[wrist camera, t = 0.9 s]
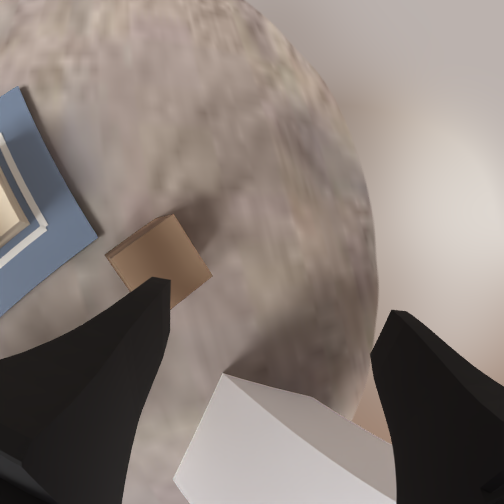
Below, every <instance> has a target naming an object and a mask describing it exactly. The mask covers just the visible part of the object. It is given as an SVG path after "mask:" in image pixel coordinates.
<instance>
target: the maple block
mask: <svg viewBox="0 0 504 504" xmlns="http://www.w3.org/2000/svg"><path fill="white" fill-rule="evenodd" d="M28 225H30V223H29V221H28V219H27V217H26V216H25V214H24V212H23V210H22V208H21V207H20V205H19V203H18V201H17V199H16V197H15V195H14V193H13V191H12V189H11V187H10V185H9V183H8V181H7V179H6V177H5V175H4V173H3V171H2V169H1V167H0V248H2V247H3V246H4V245H5V244H6V243H7V242H9V241H10V240H11V239H12V238H13V237H15V236H16V235H17V234H18V233H20V232H21V231H22V230H23V229H25V228H26V227H27V226H28Z"/></svg>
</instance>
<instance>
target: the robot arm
mask: <svg viewBox="0 0 504 504" xmlns="http://www.w3.org/2000/svg"><path fill="white" fill-rule="evenodd" d="M170 296H171V280H169V279H163V278H158V277H151V278H149V279H148V280H147V281H145V282H144V283H142V284H141V285H140V286H138V287H137V288H136V289H134V290H133V291H132V292H130V293H129V294H128V295H126V296H125V297H123V298H122V299H121V300H119V301H118V302H116V303H115V304H114V305H112V306H111V307H109V308H108V309H106V310H105V311H103V312H102V313H100V314H99V315H97V316H95V317H94V318H92V319H91V320H89V321H88V322H86V323H84V324H83V325H81V326H79V327H77V328H76V329H74V330H72V331H70V332H68V333H66V334H64V335H62V336H60V337H58V338H56V339H54V340H52V341H50V342H47V343H45V344H42V345H40V346H38V347H35V348H33V349H30V350H28V351H25V352H23V353H20V354H17V355H14V356H11V357H8V358H4V359H1V360H0V504H122V497H123V491H124V485H125V479H126V474H127V469H128V464H129V459H130V454H131V449H132V445H133V441H134V437H135V433H136V429H137V425H138V421H139V418H140V415H141V412H142V409H143V407H144V404H145V402H146V399H147V396H148V394H149V391H150V389H151V386H152V384H153V381H154V379H155V376H156V374H157V371H158V369H159V366H160V364H161V361H162V359H163V355H164V352H165V348H166V344H167V340H168V337H169V333H170ZM370 357H371V364H372V370H373V376H374V380H375V384H376V388H377V391H378V394H379V398H380V401H381V404H382V408H383V411H384V414H385V417H386V421H387V424H388V428H389V432H390V436H391V441H392V446H393V454H394V462H395V473H396V504H504V386H502V385H500V384H499V383H497V382H496V381H494V380H493V379H491V378H490V377H488V376H487V375H485V374H484V373H482V372H481V371H480V370H478V369H477V368H476V367H474V366H473V365H472V364H470V363H469V362H468V361H467V360H465V359H464V358H463V357H462V356H460V355H459V354H458V353H457V352H456V351H454V350H453V349H452V348H451V347H450V346H448V345H447V344H446V343H445V342H444V341H443V340H442V339H440V338H439V337H438V336H437V335H436V334H435V333H433V332H432V331H431V330H430V329H429V328H428V327H426V326H425V325H424V324H423V323H421V322H420V321H419V320H418V319H416V318H415V317H414V316H412V315H411V314H409V313H408V312H406V311H398V310H391V312H390V314H389V316H388V318H387V321H386V323H385V325H384V327H383V329H382V332H381V333H380V336H379V338H378V340H377V342H376V344H375V346H374V348H373V350H372V352H371V354H370Z"/></svg>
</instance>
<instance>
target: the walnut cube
mask: <svg viewBox="0 0 504 504" xmlns="http://www.w3.org/2000/svg"><path fill="white" fill-rule="evenodd" d="M105 256H106V257H107V259H108V260H109V262H110V263H111V265H112V266H113V268H114V269H115V271H116V272H117V274H118V275H119V276H120V278H121V279H122V281H123V282H124V284H125V285H126V286H127V288H128V289H129V291H130V292H132V291H133V290H134V289H136V288H137V287H138V286H140V285H141V284H142V283H144V282H145V281H147V280H148V279H149V278H151V277H158V278H163V279H169V280H171V296H170V310H171V309H172V308H173V307H174V306H176V305H177V304H178V303H179V302H181V301H182V300H183V299H184V298H186V297H187V296H188V295H189V294H191V293H192V292H193V291H194V290H196V289H197V288H198V287H199V286H201V285H202V284H203V283H204V282H206V281H207V280H208V279H209V278H211V277H212V276H213V275H212V274H211V272H210V271H209V269H208V268H207V266H206V265H205V263H204V261H203V260H202V258H201V257H200V255H199V254H198V252H197V250H196V249H195V247H194V246H193V244H192V243H191V241H190V239H189V238H188V236H187V235H186V233H185V231H184V230H183V228H182V227H181V225H180V223H179V222H178V220H177V218H176V217H175V215H174V214H172V215H168V216H163V217H159V218H156V219H154V220H153V221H151V222H150V223H148V224H147V225H145V226H144V227H143V228H141V229H140V230H138V231H137V232H135V233H134V234H133V235H131V236H130V237H128V238H127V239H126V240H124V241H123V242H121V243H120V244H119V245H117V246H116V247H115V248H113V249H112V250H111V251H109V252H108V253H106V254H105Z"/></svg>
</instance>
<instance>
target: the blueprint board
mask: <svg viewBox="0 0 504 504" xmlns="http://www.w3.org/2000/svg"><path fill="white" fill-rule="evenodd" d="M0 167H1V169H2V171H3V173H4V175H5V177H6V179H7V181H8V183H9V185H10V187H11V189H12V191H13V193H14V195H15V197H16V199H17V201H18V203H19V205H20V207H21V208H22V210H23V212H24V214H25V216H26V217H27V219H28V221H29V223H30V225H28V226H27V227H26V228H25V229H23V230H22V231H21V232H20V233H18V234H17V235H16V236H15V237H13V238H12V239H11V240H10V241H9V242H7V243H6V244H5V245H4V246H3V247H2V248H0V317H1V316H2V315H3V314H4V313H5V312H6V311H7V310H9V309H10V308H11V307H12V306H13V305H14V304H15V303H17V302H18V301H19V300H20V299H21V298H22V297H23V296H25V295H26V294H27V293H28V292H29V291H31V290H32V289H33V288H34V287H35V286H37V285H38V284H39V283H40V282H41V281H43V280H44V279H45V278H46V277H48V276H49V275H50V274H51V273H53V272H54V271H55V270H56V269H58V268H59V267H60V266H61V265H63V264H64V263H65V262H67V261H68V260H69V259H70V258H72V257H73V256H74V255H76V254H77V253H78V252H80V251H81V250H82V249H84V248H85V247H86V246H88V245H89V244H90V243H92V242H93V241H94V240H96V239H97V238H98V236H97V235H96V233H95V232H94V230H93V228H92V227H91V225H90V224H89V222H88V220H87V219H86V217H85V215H84V214H83V212H82V210H81V209H80V207H79V205H78V204H77V202H76V200H75V199H74V197H73V195H72V193H71V192H70V190H69V188H68V186H67V185H66V183H65V181H64V179H63V178H62V176H61V174H60V172H59V170H58V168H57V166H56V165H55V163H54V161H53V159H52V157H51V155H50V153H49V151H48V149H47V147H46V145H45V143H44V141H43V139H42V137H41V135H40V133H39V131H38V129H37V127H36V125H35V123H34V121H33V119H32V116H31V114H30V112H29V110H28V108H27V105H26V103H25V101H24V98H23V96H22V94H21V91H20V89H19V87H18V86H17V87H15V88H13V89H12V90H10V91H9V92H7V93H6V94H4V95H3V96H1V97H0Z"/></svg>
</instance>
